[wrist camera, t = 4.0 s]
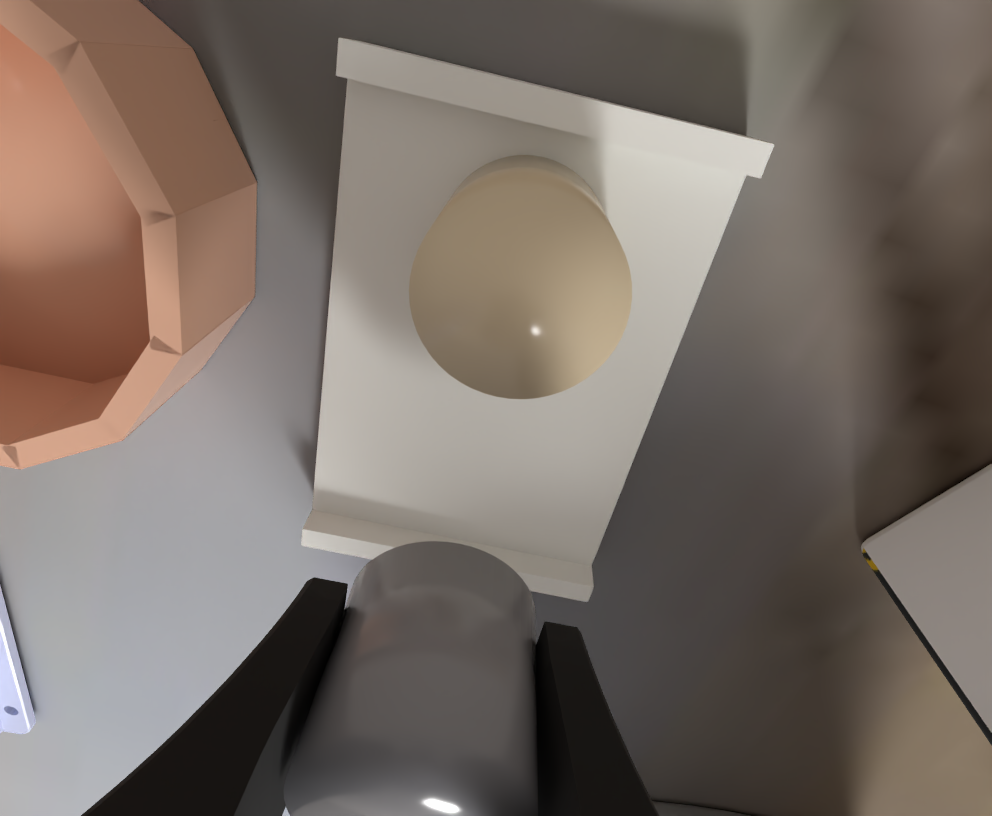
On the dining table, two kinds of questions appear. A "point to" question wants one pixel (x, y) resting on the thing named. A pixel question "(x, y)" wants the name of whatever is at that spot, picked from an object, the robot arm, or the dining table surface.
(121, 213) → the terracotta bowl
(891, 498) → the dining table surface
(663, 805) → the flask
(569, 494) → the parts tray
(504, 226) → the sandstone pebble
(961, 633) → the medicine bottle
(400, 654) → the grey rounded short piece
